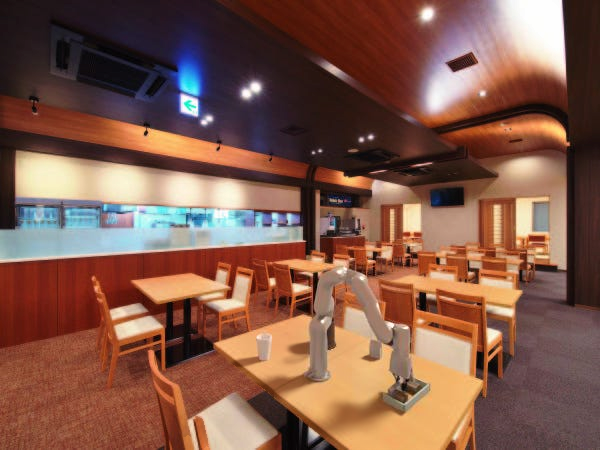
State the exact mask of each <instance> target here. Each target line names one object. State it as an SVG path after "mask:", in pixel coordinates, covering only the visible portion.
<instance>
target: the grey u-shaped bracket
mask: <svg viewBox="0 0 600 450" xmlns="http://www.w3.org/2000/svg"><path fill="white" fill-rule="evenodd" d="M413 377H414V382H416V383H418V384H421V388H420V391H419V392H418V393H416V394H414V395H413V396H412V397H410V399H409V398H408V401H407V402H406V403H405V404H403V403H401V402H399V401H397V400H395V399H394V398H392V397H390V396H388V394H385V393H382V402H384V403H385V404H388V405H389V406H392V407H394V408H395V409H397V410H399V411H400V412H402V413H404V414H406V413H407V412H408V411H409V410H410V409H411V408H412V407H413V406H415V405H416V404H417V403H418V402H419V401H420V400H421V399H422V398H424V397H425V396H426V395H427V394H428V393H429V392H430V391H431V383H429V382H426V381H425V380H422V379H420V378H418V377H415V376H413Z"/></svg>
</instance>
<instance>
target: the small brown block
mask: <svg viewBox="0 0 600 450" xmlns="http://www.w3.org/2000/svg"><path fill="white" fill-rule="evenodd" d="M421 389H422V387H421V384H418V383H416V382H414V381H412V382H411V383H409V384H408V389H407V391H408V392H410V393H412V394H414V395H415V394H417V393H418V392H419V391H420V390H421Z"/></svg>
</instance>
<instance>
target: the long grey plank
mask: <svg viewBox="0 0 600 450" xmlns="http://www.w3.org/2000/svg"><path fill="white" fill-rule="evenodd" d="M411 382H412V381H409V382H407V389H406V390H405V391H404V393H406V391H408V384H409V383H411ZM402 383H403V377H400V380H398V381H397V382H396V381H395V382H394V383H393V384H392V385H391V386H390V387H388V388H387V395H388V396H390V397H392V398H394V399H395V394H396V393H397V392H399V391H402ZM402 392H403V391H402Z"/></svg>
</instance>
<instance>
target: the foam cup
mask: <svg viewBox="0 0 600 450" xmlns="http://www.w3.org/2000/svg"><path fill="white" fill-rule="evenodd" d="M255 339H256V340H255V341H256V346H257V354H258V359H259V360H260V361H262V362H263V361H268V360H269V359H270V354H271V347H272V341H273V336H272V334H270V333H260V334H258V335H256V337H255Z"/></svg>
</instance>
